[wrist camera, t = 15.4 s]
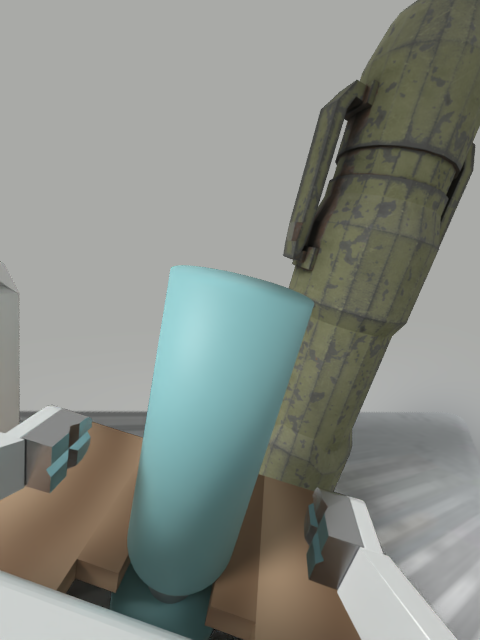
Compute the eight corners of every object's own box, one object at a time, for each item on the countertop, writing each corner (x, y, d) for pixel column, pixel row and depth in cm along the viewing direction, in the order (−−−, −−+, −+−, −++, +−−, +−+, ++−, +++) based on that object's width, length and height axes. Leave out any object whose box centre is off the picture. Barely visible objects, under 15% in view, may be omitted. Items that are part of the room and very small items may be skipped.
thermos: (359, 510, 24) (589, 40, 14) (243, 543, 19) (477, -141, 9) (303, 438, 32) (429, 100, 22) (210, 449, 27) (320, 18, 17)
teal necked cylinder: (93, 685, 10) (151, 283, 6) (123, 534, 16) (166, 257, 11) (228, 660, 12) (359, 322, 7) (215, 529, 17) (287, 283, 13)
